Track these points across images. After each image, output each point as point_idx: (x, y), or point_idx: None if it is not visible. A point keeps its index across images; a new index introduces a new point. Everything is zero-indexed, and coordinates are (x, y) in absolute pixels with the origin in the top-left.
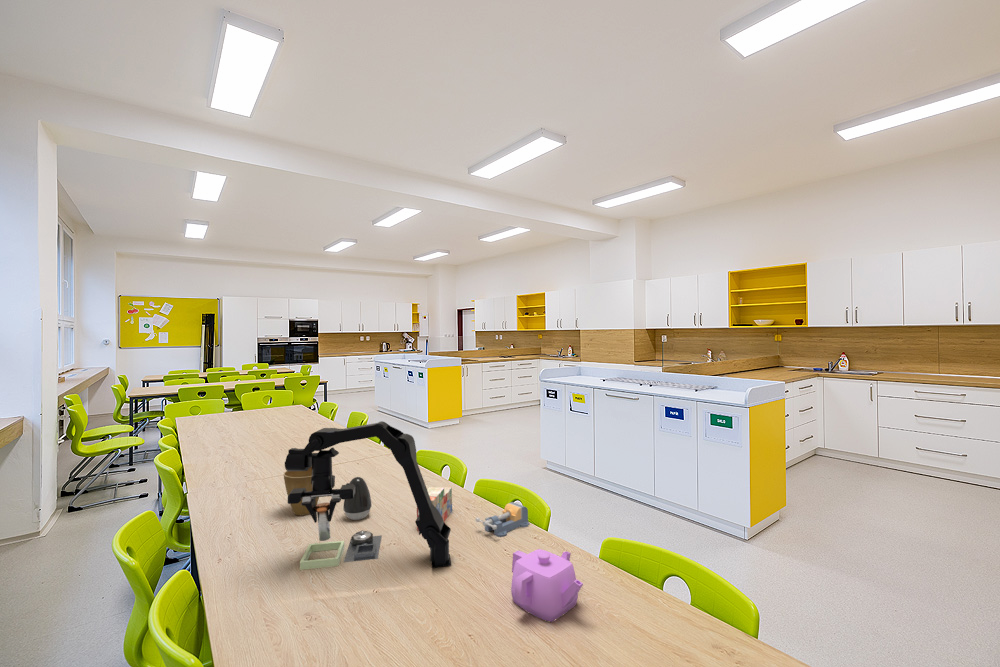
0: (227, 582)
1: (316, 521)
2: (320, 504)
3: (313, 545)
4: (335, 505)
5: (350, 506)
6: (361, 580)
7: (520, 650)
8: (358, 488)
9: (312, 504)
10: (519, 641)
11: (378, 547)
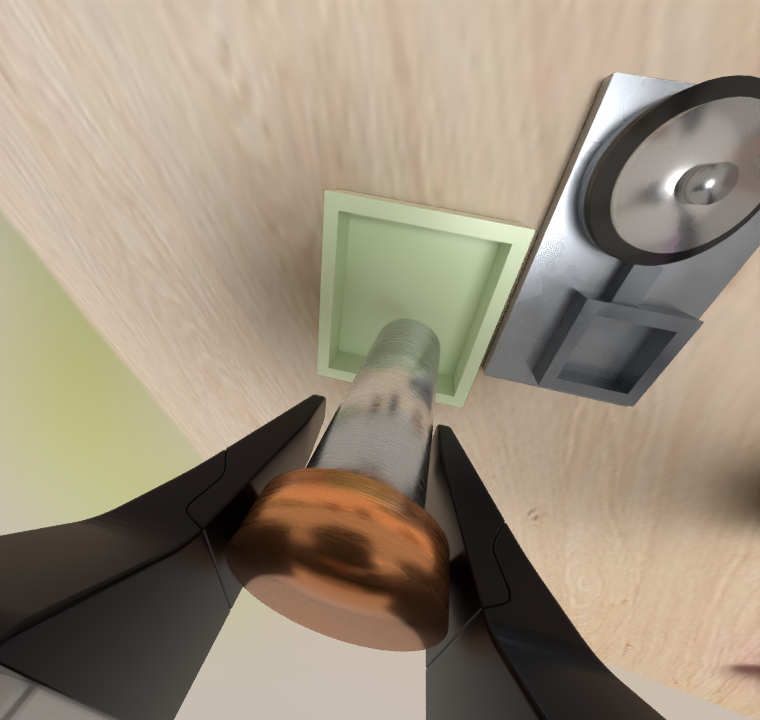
0: (121, 313)
1: (323, 413)
2: (289, 558)
3: (351, 212)
4: (531, 587)
5: None
6: (515, 466)
7: (668, 678)
8: None
9: (183, 674)
10: (685, 675)
11: (698, 309)
